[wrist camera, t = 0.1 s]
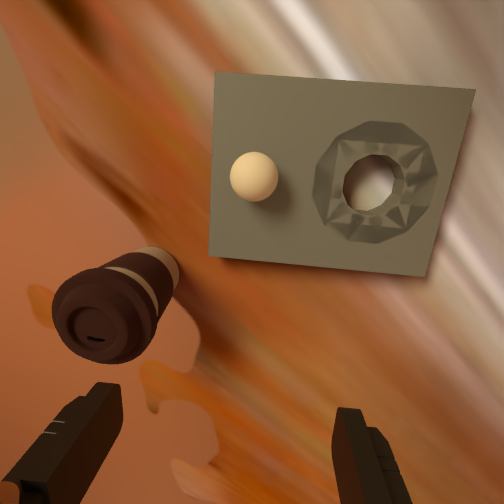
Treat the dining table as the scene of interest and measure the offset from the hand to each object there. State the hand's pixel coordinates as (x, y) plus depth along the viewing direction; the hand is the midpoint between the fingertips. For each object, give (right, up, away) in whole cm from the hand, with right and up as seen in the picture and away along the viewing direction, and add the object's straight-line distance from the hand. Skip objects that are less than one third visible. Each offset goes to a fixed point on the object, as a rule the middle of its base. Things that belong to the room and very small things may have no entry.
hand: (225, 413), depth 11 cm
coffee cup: (-12, +3, +31) cm, 33 cm away
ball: (+1, +14, +20) cm, 24 cm away
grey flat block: (+10, +15, +25) cm, 31 cm away
